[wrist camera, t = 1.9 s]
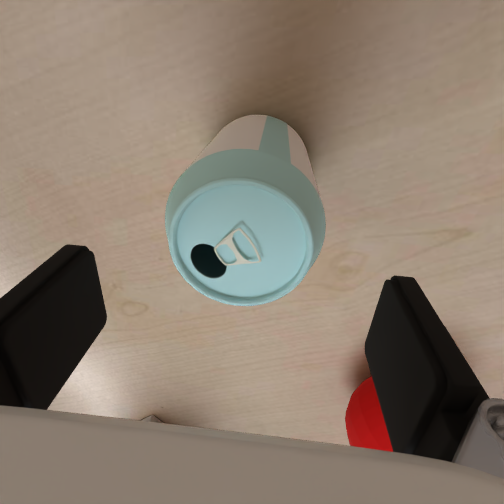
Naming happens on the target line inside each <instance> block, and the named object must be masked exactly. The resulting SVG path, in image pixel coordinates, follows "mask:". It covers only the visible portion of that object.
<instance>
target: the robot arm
mask: <svg viewBox="0 0 504 504" xmlns="http://www.w3.org/2000/svg"><path fill="white" fill-rule="evenodd" d="M106 320H107V314H106V309H105V304H104V300H103V295H102V290H101V285H100V281H99V276H98V271H97V266H96V261H95V257H94V253H93V252H92V251H89V249H88V248H87V247H86V246H79V245H65V246H64V247H62V248H61V249H60V250H59V251H58V252H56V253H55V254H54V255H53V256H52V257H50V258H49V259H48V260H47V261H45V262H44V263H43V264H42V265H41V266H39V267H38V268H37V269H36V270H34V271H33V272H32V273H31V274H30V275H28V276H27V277H26V278H25V279H23V280H22V281H21V282H20V283H19V284H17V285H16V286H15V287H14V288H12V289H11V290H10V291H9V292H8V293H6V294H5V295H4V296H3V297H2V298H0V504H504V400H503V399H495V398H491V399H490V398H489V397H488V395H487V393H486V392H485V390H484V389H483V387H482V385H481V384H480V382H479V381H478V379H477V377H476V376H475V374H474V372H473V371H472V369H471V368H470V366H469V364H468V363H467V361H466V360H465V358H464V356H463V355H462V353H461V352H460V350H459V348H458V347H457V345H456V344H455V342H454V340H453V339H452V337H451V335H450V334H449V332H448V331H447V329H446V327H445V326H444V325H443V323H442V322H441V320H440V319H439V317H438V315H437V314H436V312H435V310H434V309H433V307H432V306H431V304H430V302H429V301H428V299H427V298H426V296H425V294H424V293H423V291H422V290H421V288H420V286H419V285H418V283H417V281H416V280H415V279H414V278H413V277H404V276H393V277H392V278H391V280H386V281H385V283H384V285H383V289H382V292H381V295H380V298H379V301H378V304H377V307H376V310H375V314H374V317H373V320H372V323H371V326H370V329H369V332H368V335H367V339H366V342H365V354H366V358H367V361H368V365H369V368H370V372H371V375H372V379H373V382H374V386H375V389H376V393H377V396H378V400H379V403H380V407H381V410H382V414H383V417H384V421H385V424H386V428H387V431H388V435H389V438H390V442H391V445H392V449H393V452H390V451H383V450H376V449H369V448H362V447H354V446H347V445H339V444H331V443H323V442H315V441H307V440H299V439H291V438H283V437H275V436H266V435H258V434H250V433H242V432H234V431H225V430H217V429H208V428H200V427H191V426H183V425H174V424H166V423H157V422H149V421H140V420H131V419H123V418H114V417H105V416H96V415H87V414H78V413H69V412H60V411H51V410H47V408H48V407H49V406H50V404H51V403H52V401H53V400H54V398H55V397H56V395H57V394H58V392H59V391H60V390H61V388H62V387H63V385H64V384H65V382H66V381H67V379H68V378H69V377H70V375H71V374H72V372H73V371H74V369H75V368H76V366H77V365H78V363H79V362H80V361H81V359H82V358H83V356H84V355H85V353H86V352H87V350H88V349H89V348H90V346H91V345H92V343H93V342H94V340H95V339H96V337H97V336H98V334H99V333H100V332H101V330H102V329H103V327H104V326H105V323H106Z"/></svg>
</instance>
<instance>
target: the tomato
mask: <svg viewBox="0 0 504 504" xmlns="http://www.w3.org/2000/svg"><path fill="white" fill-rule="evenodd" d="M345 421H346V429H347V435H348V439H349V443H350V445H351V446H354V447H362V448H369V449H376V450H383V451H390V452H393V449H392V445H391V442H390V438H389V435H388V431H387V428H386V424H385V421H384V417H383V414H382V410H381V407H380V403H379V400H378V396H377V393H376V389H375V386H374V382H373V379H372V376H371V377H369V378H368V379H366V380H364V381H363V382H362V383H361V384H360V385H359V386H358V388H357V389H356V390H355V391H354V392H353V394H352V396H351V398H350V401H349V404H348V407H347V410H346V417H345Z"/></svg>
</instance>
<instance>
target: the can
mask: <svg viewBox="0 0 504 504" xmlns="http://www.w3.org/2000/svg"><path fill="white" fill-rule="evenodd" d="M165 227H166V233H167V238H168V243H169V250H170V254H171V257H172V260H173V262H174V264H175V266H176V268H177V270H178V271H179V273H180V274H181V276H182V277H183V278H184V279H185V280H186V281H187V282H188V283H189V284H190V285H191V286H192V287H193V288H194V289H196V290H197V291H198V292H200V293H201V294H203V295H205V296H207V297H209V298H211V299H213V300H216V301H218V302H222V303H225V304H230V305H236V306H254V305H261V304H265V303H269V302H272V301H275V300H277V299H279V298H281V297H283V296H285V295H286V294H288V293H289V292H291V291H292V290H293V289H294V288H295V287H296V286H297V285H298V284H299V283H300V282H301V281H302V280H303V278H304V277H305V275H306V274H307V272H308V270H309V269H310V268H311V267H312V265H313V264H314V262H315V261H316V259H317V257H318V255H319V253H320V251H321V248H322V245H323V242H324V237H325V229H326V222H325V213H324V208H323V205H322V201H321V198H320V195H319V191H318V188H317V184H316V181H315V177H314V174H313V171H312V167H311V164H310V160H309V157H308V153H307V150H306V147H305V145H304V143H303V141H302V139H301V138H300V136H299V135H298V134H297V132H296V131H295V130H294V129H293V128H292V127H290V126H289V125H288V124H286V123H285V122H283V121H281V120H279V119H277V118H274V117H271V116H267V115H248V116H244V117H240V118H238V119H236V120H234V121H232V122H230V123H229V124H227V125H226V126H225V127H224V128H223V129H222V130H221V131H220V132H219V133H218V134H217V135H216V136H215V137H214V139H213V140H212V141H211V142H210V143H209V144H208V145H207V146H206V148H205V149H204V150H203V151H202V152H201V153H200V154H199V156H198V157H197V158H196V159H195V160H194V161H193V162H192V163H191V165H190V166H189V167H188V168H187V169H186V170H185V171H184V173H183V174H182V175H181V176H180V177H179V179H178V180H177V181H176V183H175V185H174V186H173V188H172V190H171V192H170V195H169V198H168V201H167V205H166V212H165Z"/></svg>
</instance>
